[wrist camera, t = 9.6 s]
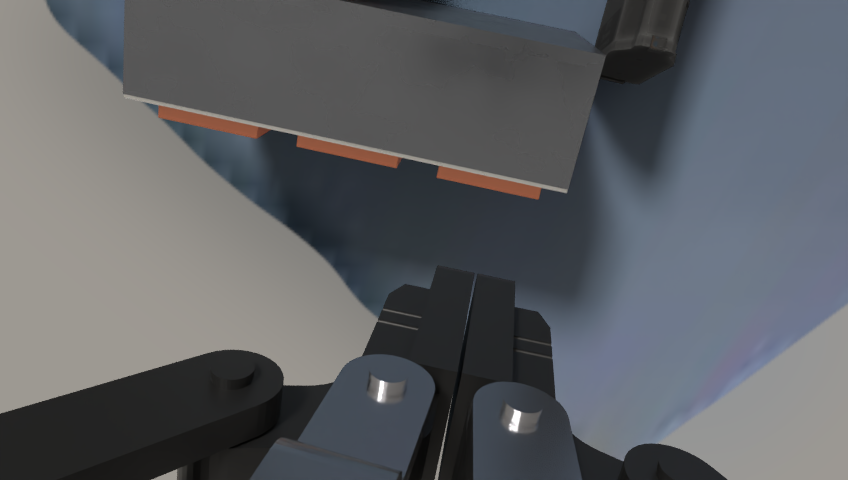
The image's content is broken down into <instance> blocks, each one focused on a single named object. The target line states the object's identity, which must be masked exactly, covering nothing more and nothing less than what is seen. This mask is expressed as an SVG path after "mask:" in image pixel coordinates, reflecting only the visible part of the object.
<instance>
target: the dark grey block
mask: <svg viewBox="0 0 848 480" xmlns="http://www.w3.org/2000/svg"><path fill="white" fill-rule="evenodd" d="M605 58H606V55H605V54H603V53H602V52H601V51H600V50H598V49H597V48H596V47H594V46H593V45H592V44H590V43H589V42H588V41H586V40H585V39H584V38H583V37H581V36H580V35H579V34H577V33H576V32H573V31H568V30H563V29H559V28H554V27H549V26H544V25H539V24H534V23H529V22H525V21H520V20H515V19H510V18H505V17H500V16H496V15H491V14H486V13H481V12H476V11H471V10H466V9H462V8H457V7H452V6H447V5H442V4H437V3H432V2H428V1H423V0H125V16H124V73H123V94H124V98H128V99H133V100H137V101H142V102H146V103H151V104H156V105H160V106H165V107H170V108H174V109H179V110H183V111H188V112H193V113H197V114H202V115H207V116H211V117H216V118H220V119H225V120H230V121H234V122H239V123H244V124H248V125H253V126H258V127H262V128H267V129H271V130H276V131H281V132H285V133H290V134H295V135H299V136H304V137H308V138H313V139H318V140H322V141H327V142H332V143H336V144H341V145H346V146H350V147H355V148H359V149H364V150H369V151H373V152H378V153H383V154H387V155H392V156H396V157H401V158H406V159H410V160H415V161H420V162H424V163H429V164H433V165H438V166H443V167H447V168H452V169H457V170H461V171H466V172H471V173H475V174H480V175H484V176H489V177H494V178H498V179H503V180H508V181H512V182H517V183H521V184H526V185H531V186H535V187H540V188H545V189H549V190H554V191H559V192H563V193H567V190H568V188H569V185H570V181H571V178H572V174H573V171H574V167H575V164H576V160H577V156H578V153H579V149H580V146H581V142H582V139H583V135H584V132H585V128H586V125H587V121H588V118H589V114H590V111H591V107H592V104H593V100H594V97H595V93H596V89H597V86H598V82H599V79H600V75H601V72H602V68H603V65H604V61H605Z"/></svg>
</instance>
